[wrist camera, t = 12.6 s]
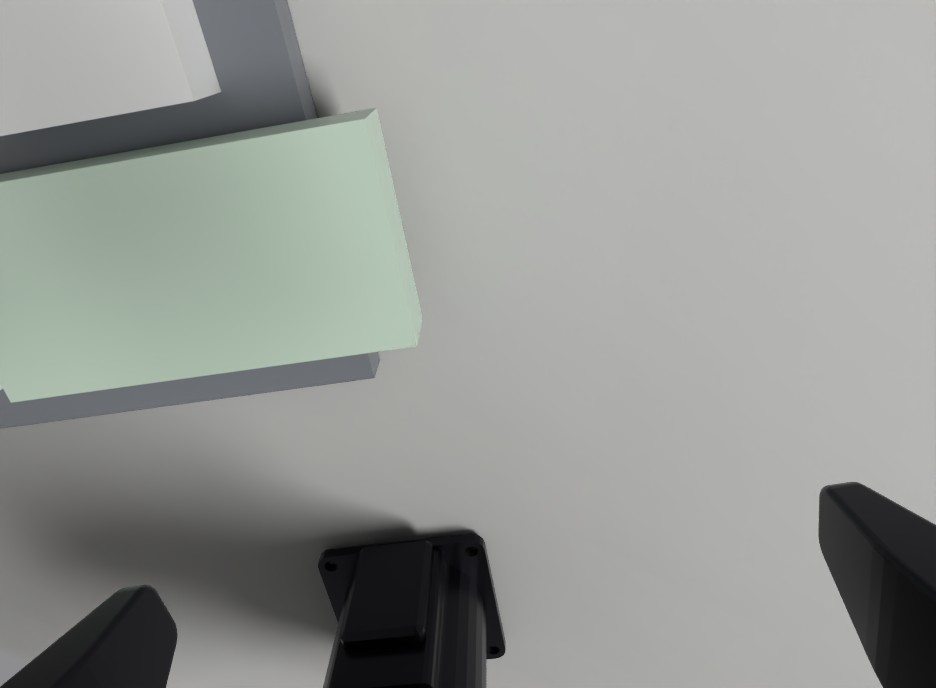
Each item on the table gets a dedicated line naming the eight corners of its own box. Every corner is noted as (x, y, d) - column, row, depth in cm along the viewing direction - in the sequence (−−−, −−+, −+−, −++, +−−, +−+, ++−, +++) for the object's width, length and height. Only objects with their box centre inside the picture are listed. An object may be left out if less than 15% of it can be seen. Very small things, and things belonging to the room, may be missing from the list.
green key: (425, 302, 21) (416, 346, 18) (68, 354, 22) (10, 402, 19) (383, 101, 18) (365, 118, 16) (-21, 172, 19) (-102, 200, 17)
